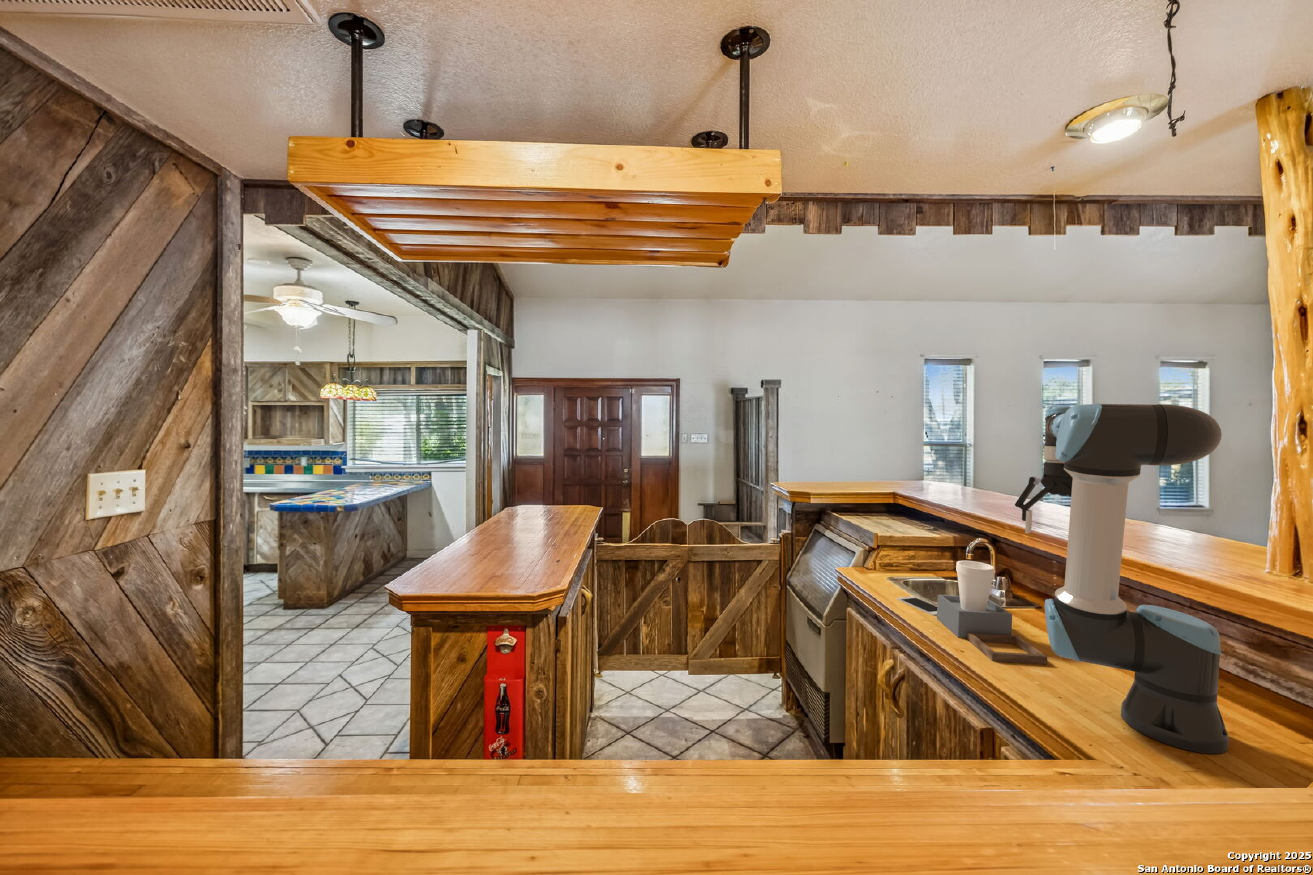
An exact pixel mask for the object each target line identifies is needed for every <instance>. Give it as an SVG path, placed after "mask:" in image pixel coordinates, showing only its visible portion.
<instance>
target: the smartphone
mask: <svg viewBox="0 0 1313 875" xmlns="http://www.w3.org/2000/svg"><path fill="white" fill-rule="evenodd" d="M896 600H897V601H899V602H901V603H904V604H906V605H908V606H910V607H912V608H915V609H917V610H919V611H921V612H923V613H926V614H928V615H930V616H933V617H935V616H936V617H937V605H935V604H932V603H930V602H927V601H925V600H922V599H920V598H918V597H915V596H913V595H911V596H903V597H902V596H901V597H896Z"/></svg>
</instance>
